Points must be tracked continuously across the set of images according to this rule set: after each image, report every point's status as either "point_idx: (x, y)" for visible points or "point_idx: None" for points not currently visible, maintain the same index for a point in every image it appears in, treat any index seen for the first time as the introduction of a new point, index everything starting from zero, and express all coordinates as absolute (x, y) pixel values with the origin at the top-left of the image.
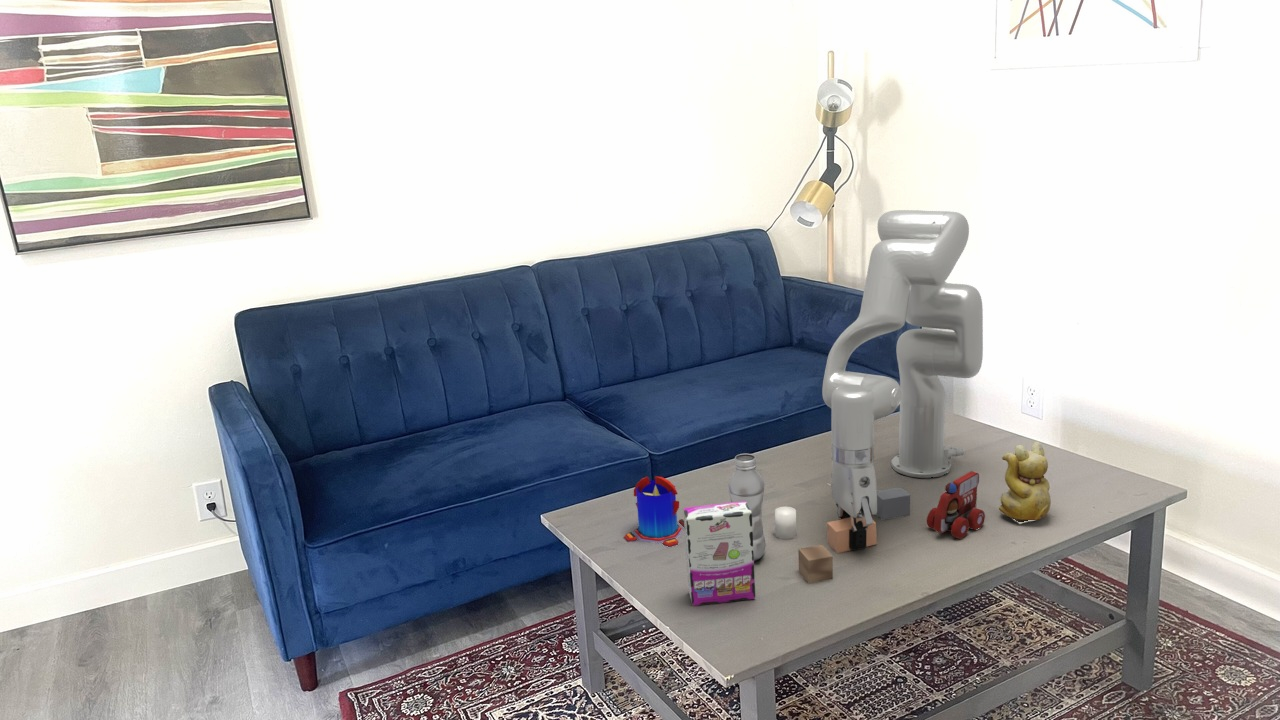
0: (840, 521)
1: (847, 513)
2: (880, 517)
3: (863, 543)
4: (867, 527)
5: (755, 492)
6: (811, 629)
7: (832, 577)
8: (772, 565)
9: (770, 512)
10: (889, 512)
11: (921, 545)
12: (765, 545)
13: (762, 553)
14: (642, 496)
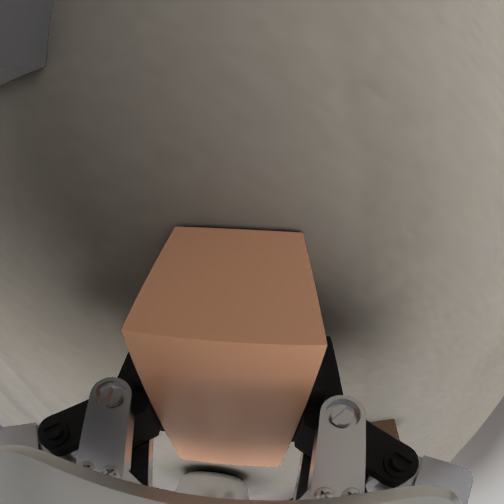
0: (190, 441)
1: (136, 428)
2: (28, 72)
3: (329, 343)
4: (364, 414)
5: None
6: (459, 443)
7: (394, 422)
8: (264, 467)
9: (15, 375)
10: (24, 25)
11: (405, 13)
12: (229, 494)
13: (240, 487)
14: None
